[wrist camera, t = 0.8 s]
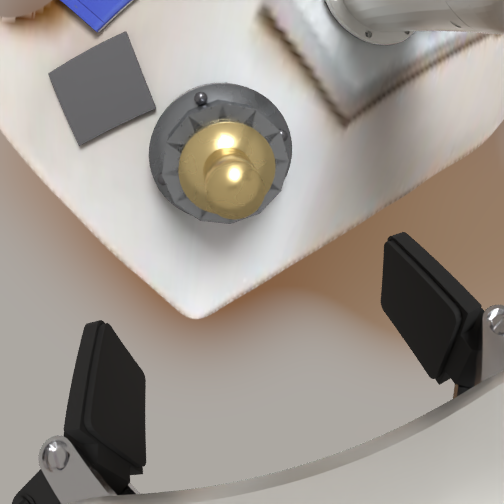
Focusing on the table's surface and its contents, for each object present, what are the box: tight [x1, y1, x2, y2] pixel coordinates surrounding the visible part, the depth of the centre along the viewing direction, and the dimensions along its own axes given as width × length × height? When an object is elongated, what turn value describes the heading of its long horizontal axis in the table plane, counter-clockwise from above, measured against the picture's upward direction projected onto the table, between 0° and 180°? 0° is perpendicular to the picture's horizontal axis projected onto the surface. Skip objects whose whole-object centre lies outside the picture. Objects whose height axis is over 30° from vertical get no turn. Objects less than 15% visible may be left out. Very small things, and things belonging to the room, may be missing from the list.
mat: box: [49, 31, 156, 146], centre depth 26 cm, size 9×9×1 cm
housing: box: [149, 83, 292, 224], centre depth 29 cm, size 14×14×7 cm
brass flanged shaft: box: [178, 121, 276, 219], centre depth 26 cm, size 8×8×10 cm
